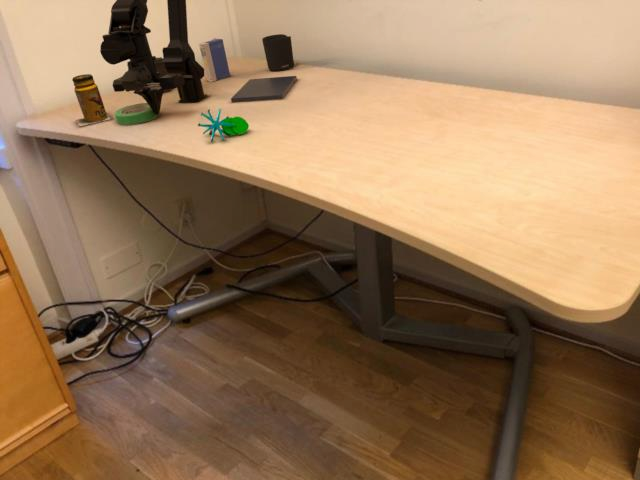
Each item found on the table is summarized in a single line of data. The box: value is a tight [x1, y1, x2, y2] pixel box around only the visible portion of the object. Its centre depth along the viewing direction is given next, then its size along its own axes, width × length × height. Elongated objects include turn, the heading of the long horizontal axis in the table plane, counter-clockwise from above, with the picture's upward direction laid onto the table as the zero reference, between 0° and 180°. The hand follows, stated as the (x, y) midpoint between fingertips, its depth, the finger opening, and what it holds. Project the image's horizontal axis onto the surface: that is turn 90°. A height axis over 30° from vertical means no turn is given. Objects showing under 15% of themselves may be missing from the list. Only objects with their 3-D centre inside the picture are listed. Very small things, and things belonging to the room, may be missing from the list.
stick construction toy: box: [197, 108, 250, 143], centre depth 141 cm, size 12×7×8 cm
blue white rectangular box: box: [198, 37, 231, 83], centre depth 191 cm, size 8×3×12 cm, turn 141°
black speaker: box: [261, 33, 295, 72], centre depth 195 cm, size 9×9×10 cm
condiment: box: [71, 73, 112, 127], centre depth 162 cm, size 7×8×12 cm
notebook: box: [230, 75, 298, 103], centre depth 174 cm, size 15×21×1 cm
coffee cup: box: [154, 56, 172, 94], centre depth 184 cm, size 8×8×10 cm
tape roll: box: [114, 102, 159, 126], centre depth 161 cm, size 11×11×3 cm
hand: (157, 114), depth 160 cm, fingers closed
